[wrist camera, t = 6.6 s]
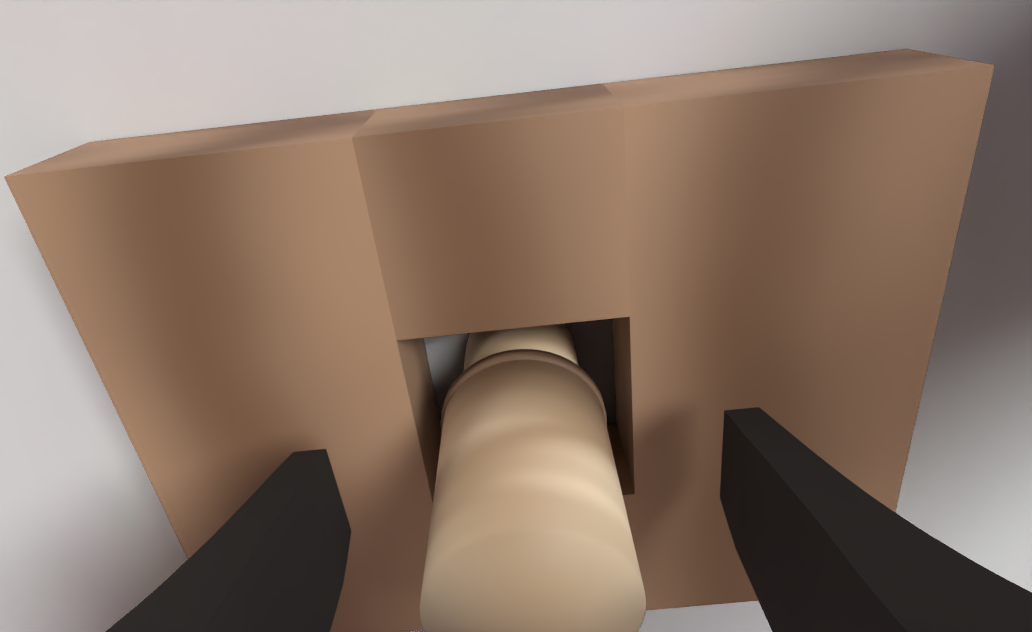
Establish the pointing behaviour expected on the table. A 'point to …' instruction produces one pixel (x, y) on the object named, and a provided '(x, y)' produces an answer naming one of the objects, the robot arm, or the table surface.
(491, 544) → the peg
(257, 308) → the board
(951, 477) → the table surface
